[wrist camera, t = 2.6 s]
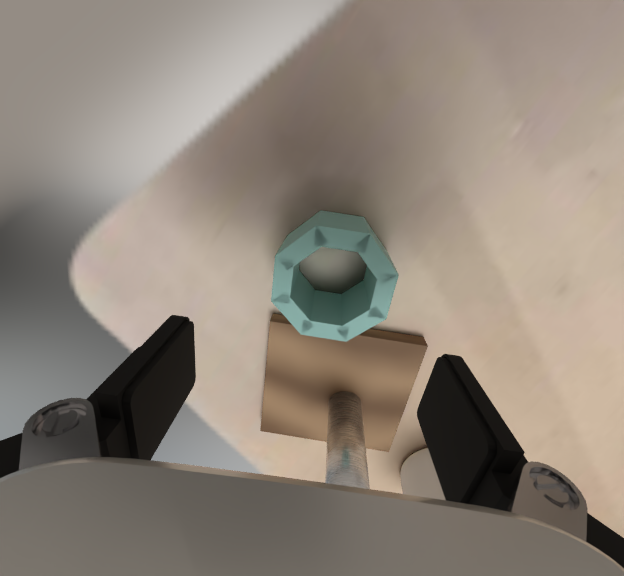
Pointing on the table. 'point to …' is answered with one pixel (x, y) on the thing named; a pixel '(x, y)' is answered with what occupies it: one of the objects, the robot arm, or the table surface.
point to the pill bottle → (420, 476)
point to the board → (338, 380)
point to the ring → (325, 305)
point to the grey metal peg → (346, 442)
